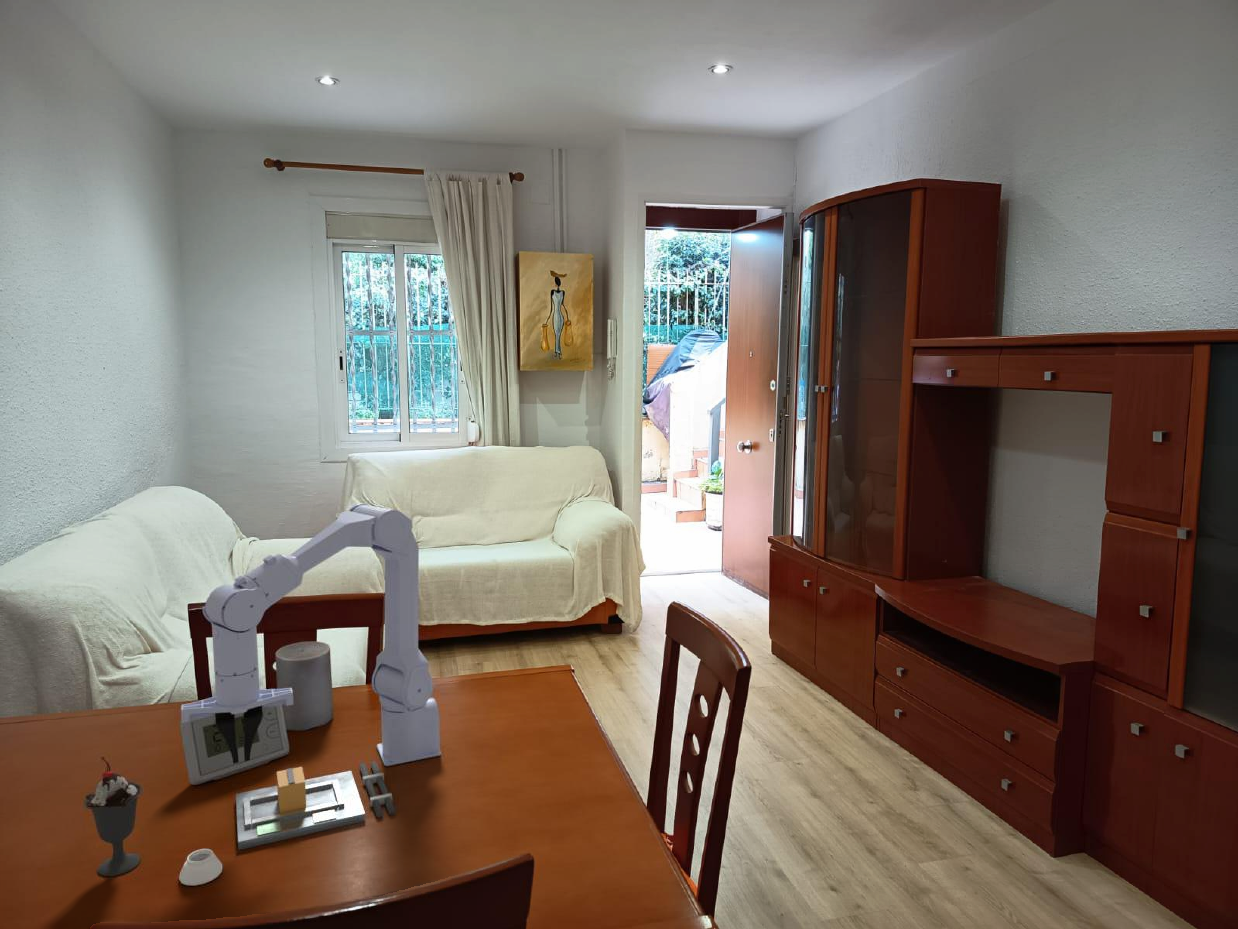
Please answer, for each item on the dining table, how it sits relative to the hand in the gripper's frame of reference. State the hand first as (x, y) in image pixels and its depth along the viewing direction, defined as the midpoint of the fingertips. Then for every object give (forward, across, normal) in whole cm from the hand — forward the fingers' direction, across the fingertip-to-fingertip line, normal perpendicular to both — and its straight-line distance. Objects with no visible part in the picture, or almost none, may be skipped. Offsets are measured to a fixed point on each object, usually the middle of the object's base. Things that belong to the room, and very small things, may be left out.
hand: (241, 759), depth 119 cm
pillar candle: (+10, +12, +33) cm, 36 cm away
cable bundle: (+10, +19, +1) cm, 21 cm away
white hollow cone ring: (+10, -6, -11) cm, 16 cm away
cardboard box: (+9, +7, 0) cm, 11 cm away
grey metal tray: (+10, +8, 0) cm, 12 cm away
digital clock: (+10, -1, +19) cm, 21 cm away
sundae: (+10, -16, -4) cm, 19 cm away
